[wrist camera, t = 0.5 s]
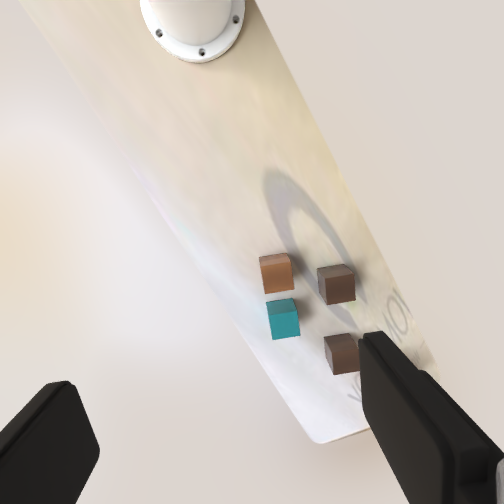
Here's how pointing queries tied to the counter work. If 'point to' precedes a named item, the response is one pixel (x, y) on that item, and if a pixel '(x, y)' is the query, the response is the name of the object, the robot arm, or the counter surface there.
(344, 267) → the taupe block
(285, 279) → the caramel wooden cube
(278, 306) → the teal toy cube
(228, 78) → the counter surface
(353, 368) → the brown cube
